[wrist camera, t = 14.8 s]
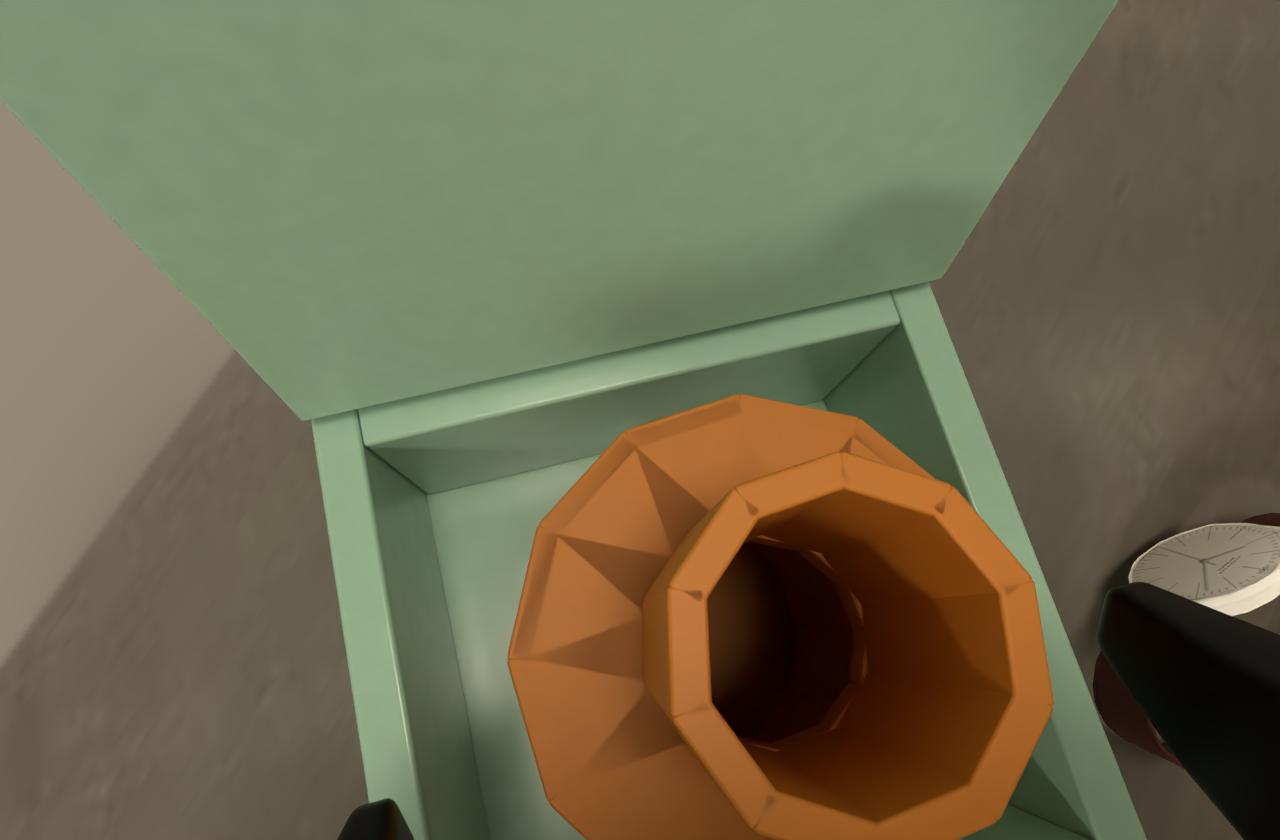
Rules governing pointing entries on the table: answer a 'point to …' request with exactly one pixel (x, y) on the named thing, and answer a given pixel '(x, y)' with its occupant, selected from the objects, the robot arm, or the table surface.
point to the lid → (529, 163)
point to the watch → (1205, 573)
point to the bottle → (774, 638)
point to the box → (546, 470)
